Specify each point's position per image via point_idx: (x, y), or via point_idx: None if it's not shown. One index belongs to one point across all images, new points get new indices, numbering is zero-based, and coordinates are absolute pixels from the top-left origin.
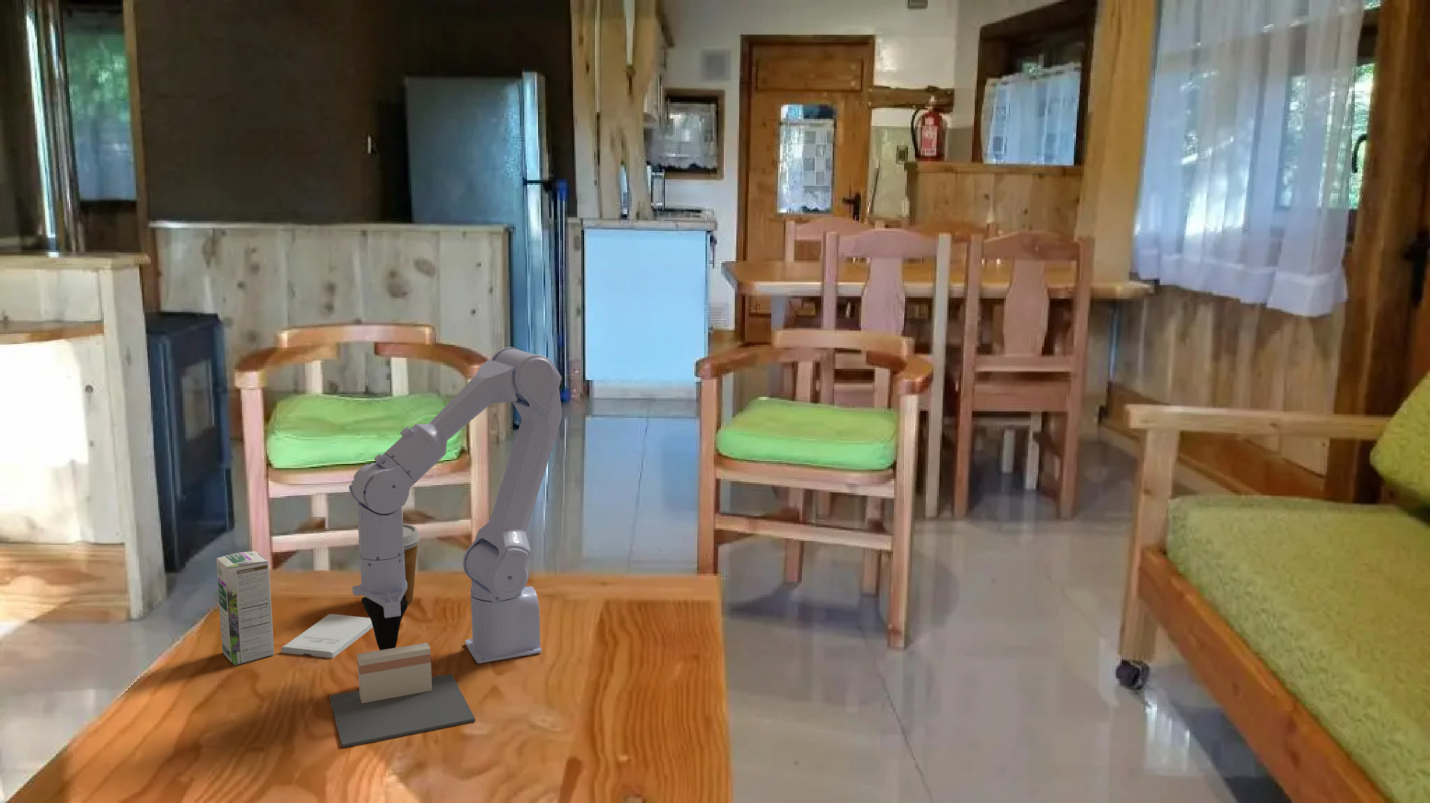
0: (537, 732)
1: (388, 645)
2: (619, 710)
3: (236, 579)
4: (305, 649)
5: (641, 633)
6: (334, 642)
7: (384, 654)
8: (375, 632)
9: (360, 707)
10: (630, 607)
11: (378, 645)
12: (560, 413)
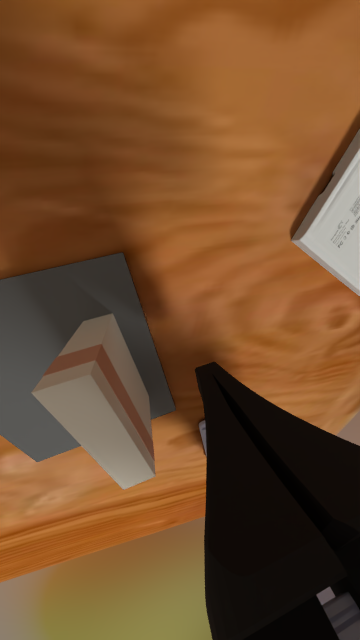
0: (17, 504)
1: (200, 389)
2: (78, 526)
3: None
4: (341, 175)
5: None
6: (335, 239)
7: (86, 436)
8: (206, 410)
9: (63, 321)
10: None
11: (198, 376)
12: None
